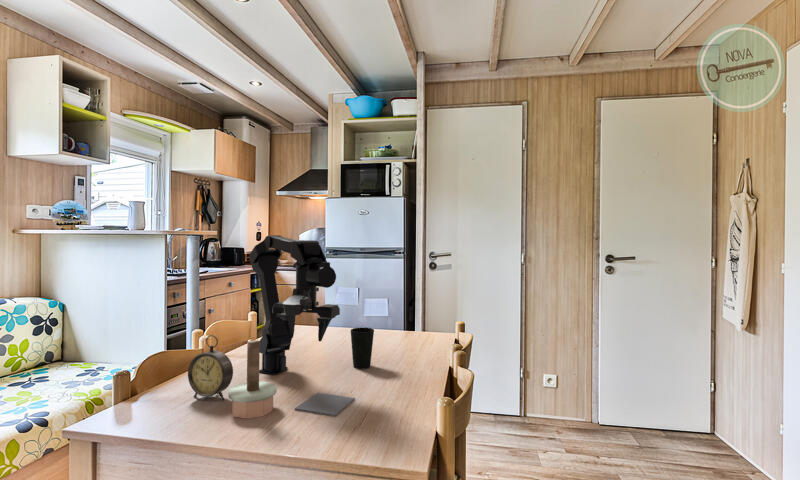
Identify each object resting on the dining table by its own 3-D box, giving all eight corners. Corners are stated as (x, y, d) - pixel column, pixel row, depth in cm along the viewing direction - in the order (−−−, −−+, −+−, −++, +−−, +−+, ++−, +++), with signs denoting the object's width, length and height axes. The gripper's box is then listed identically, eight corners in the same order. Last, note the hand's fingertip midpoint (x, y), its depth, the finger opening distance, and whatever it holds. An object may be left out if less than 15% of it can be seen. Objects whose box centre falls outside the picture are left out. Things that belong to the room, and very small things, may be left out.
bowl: (224, 414, 98) (224, 397, 98) (249, 400, 106) (249, 385, 106) (256, 420, 95) (256, 402, 95) (279, 405, 103) (279, 389, 103)
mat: (294, 409, 101) (294, 408, 101) (317, 394, 111) (317, 392, 111) (335, 416, 98) (335, 414, 98) (354, 399, 108) (354, 397, 108)
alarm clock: (186, 398, 107) (187, 335, 107) (201, 391, 112) (202, 331, 112) (222, 403, 104) (223, 339, 104) (236, 396, 109) (237, 334, 109)
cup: (369, 371, 132) (370, 333, 132) (346, 369, 133) (347, 331, 133) (376, 363, 139) (376, 328, 139) (354, 362, 141) (354, 326, 141)
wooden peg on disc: (219, 394, 100) (219, 342, 100) (259, 382, 108) (259, 334, 108) (245, 406, 93) (246, 350, 93) (285, 392, 102) (286, 341, 102)
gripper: (260, 285, 113) (259, 343, 113) (321, 289, 107) (321, 349, 107) (284, 282, 123) (283, 334, 124) (341, 285, 118) (340, 340, 118)
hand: (305, 339), depth 118 cm, fingers open, 9 cm apart
